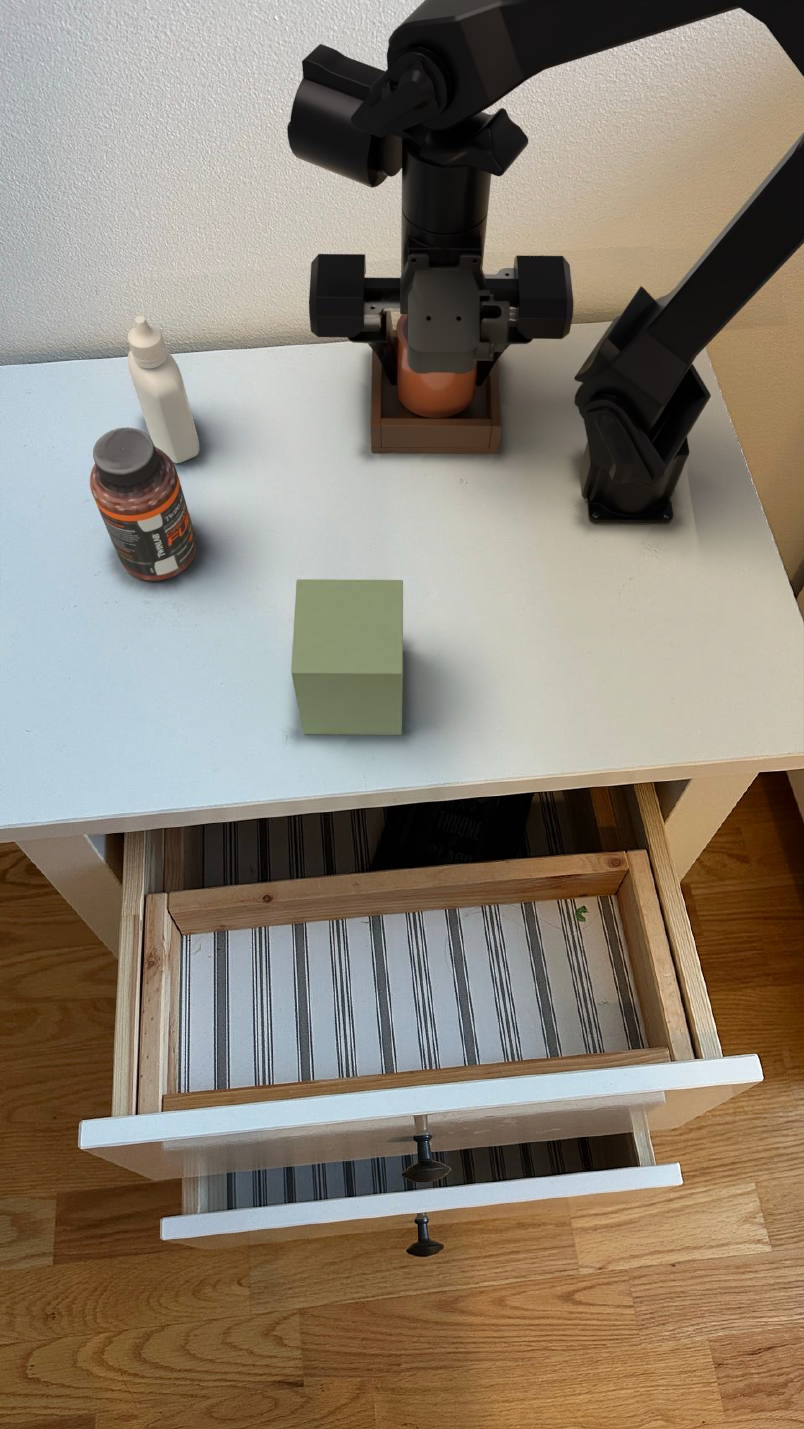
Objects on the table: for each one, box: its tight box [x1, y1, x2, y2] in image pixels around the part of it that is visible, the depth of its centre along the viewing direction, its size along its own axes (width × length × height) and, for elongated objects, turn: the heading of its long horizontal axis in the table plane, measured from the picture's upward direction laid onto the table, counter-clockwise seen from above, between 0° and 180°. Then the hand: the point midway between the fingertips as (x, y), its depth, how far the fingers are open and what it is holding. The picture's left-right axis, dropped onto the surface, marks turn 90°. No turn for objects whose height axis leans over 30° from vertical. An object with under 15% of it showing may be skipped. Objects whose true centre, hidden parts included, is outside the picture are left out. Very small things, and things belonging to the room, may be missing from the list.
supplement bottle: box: [89, 426, 198, 582], centre depth 69 cm, size 6×6×11 cm
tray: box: [370, 329, 503, 454], centre depth 79 cm, size 10×10×3 cm
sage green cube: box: [290, 578, 404, 736], centre depth 65 cm, size 7×7×9 cm
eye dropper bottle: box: [127, 315, 200, 464], centre depth 74 cm, size 4×6×12 cm
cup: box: [395, 314, 478, 418], centre depth 76 cm, size 6×6×6 cm
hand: (435, 382), depth 78 cm, fingers closed on cup, 6 cm apart
